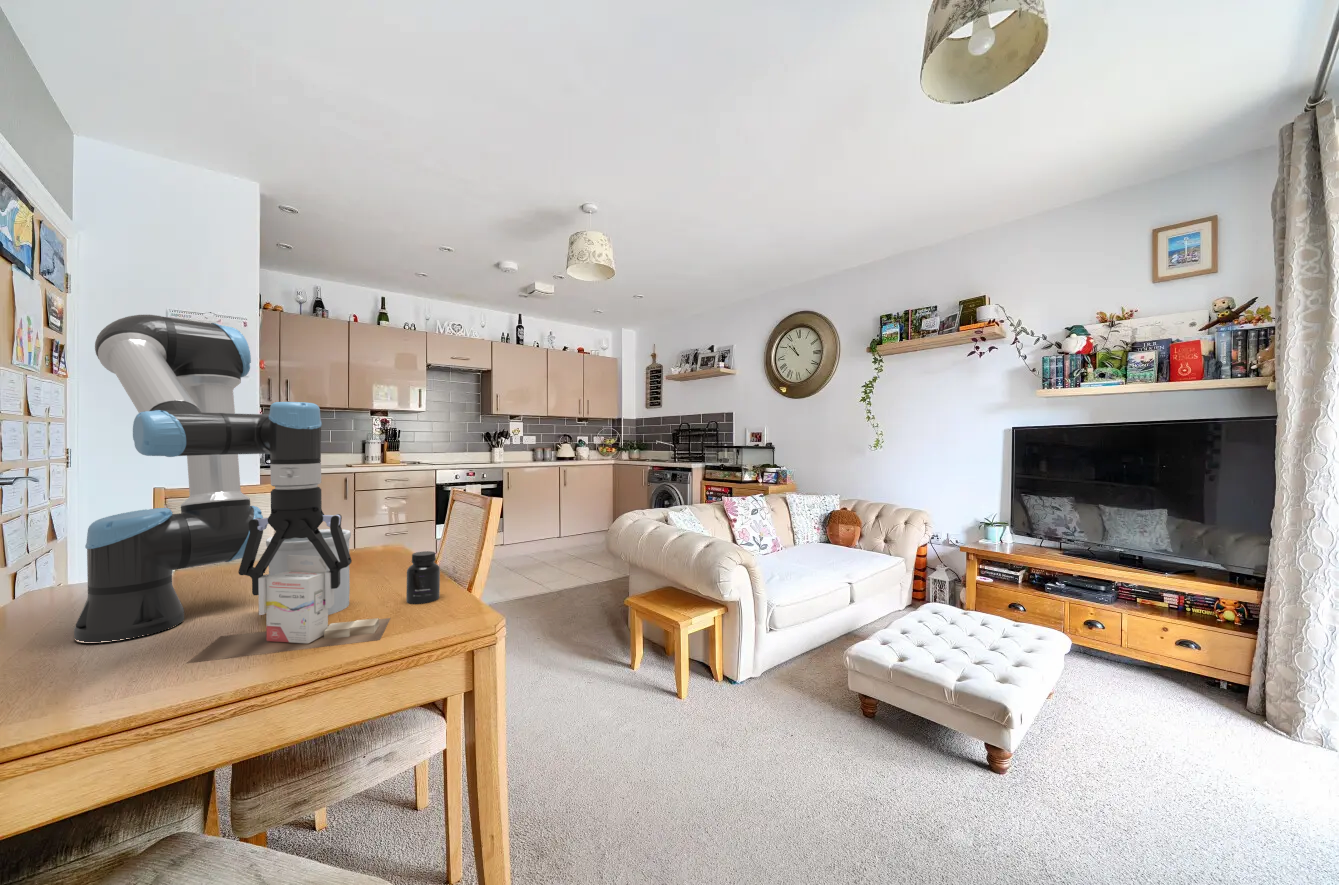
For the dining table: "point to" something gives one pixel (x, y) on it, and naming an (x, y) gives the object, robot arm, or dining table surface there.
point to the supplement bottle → (423, 579)
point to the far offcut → (364, 626)
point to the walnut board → (274, 644)
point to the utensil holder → (307, 548)
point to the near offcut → (338, 630)
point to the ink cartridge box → (297, 601)
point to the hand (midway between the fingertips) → (297, 609)
